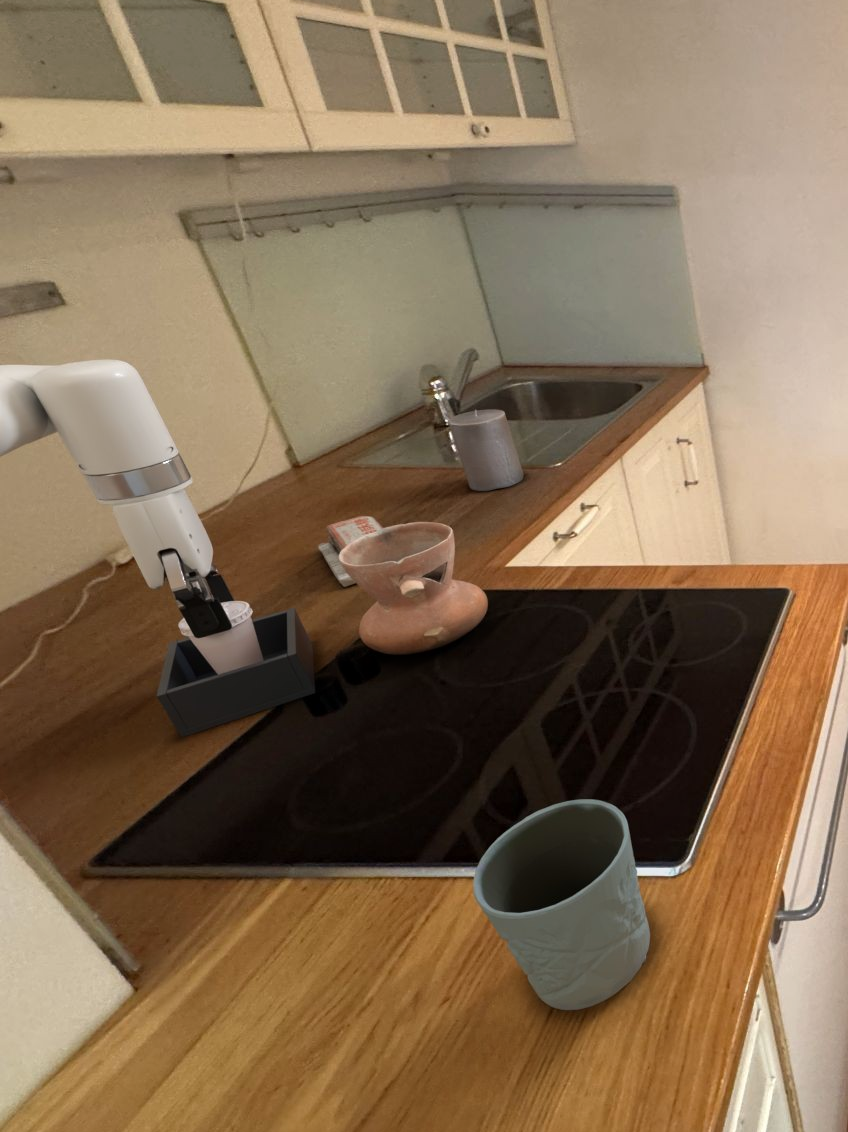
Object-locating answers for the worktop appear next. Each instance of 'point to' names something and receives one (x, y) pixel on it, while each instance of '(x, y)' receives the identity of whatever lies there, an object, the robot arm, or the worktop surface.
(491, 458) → the pillar candle
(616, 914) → the embossed green plant pot
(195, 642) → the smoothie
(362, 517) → the packaged product
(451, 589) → the pink clay vessel
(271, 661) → the bin
